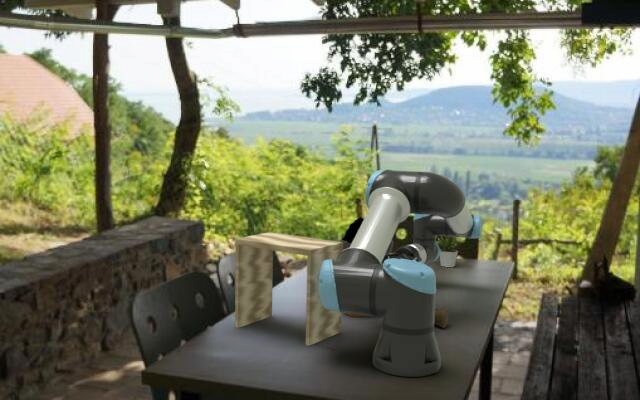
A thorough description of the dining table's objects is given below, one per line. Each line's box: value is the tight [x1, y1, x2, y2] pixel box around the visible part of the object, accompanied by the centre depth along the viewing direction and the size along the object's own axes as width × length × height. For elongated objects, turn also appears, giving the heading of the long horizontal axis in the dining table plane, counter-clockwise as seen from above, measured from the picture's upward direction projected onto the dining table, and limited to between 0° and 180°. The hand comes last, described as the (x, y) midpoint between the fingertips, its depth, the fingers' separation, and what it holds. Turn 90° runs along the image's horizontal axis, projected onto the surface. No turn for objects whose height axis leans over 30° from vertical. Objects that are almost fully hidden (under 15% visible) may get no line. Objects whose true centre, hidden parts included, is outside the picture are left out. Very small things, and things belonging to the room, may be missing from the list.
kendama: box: [434, 307, 450, 329], centre depth 183 cm, size 6×10×20 cm
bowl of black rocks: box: [339, 216, 394, 254], centre depth 259 cm, size 20×20×19 cm
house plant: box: [436, 236, 465, 267], centre depth 261 cm, size 14×14×16 cm
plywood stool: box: [234, 231, 343, 347], centre depth 178 cm, size 14×24×24 cm, turn 55°
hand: (375, 266), depth 203 cm, fingers open, 13 cm apart
